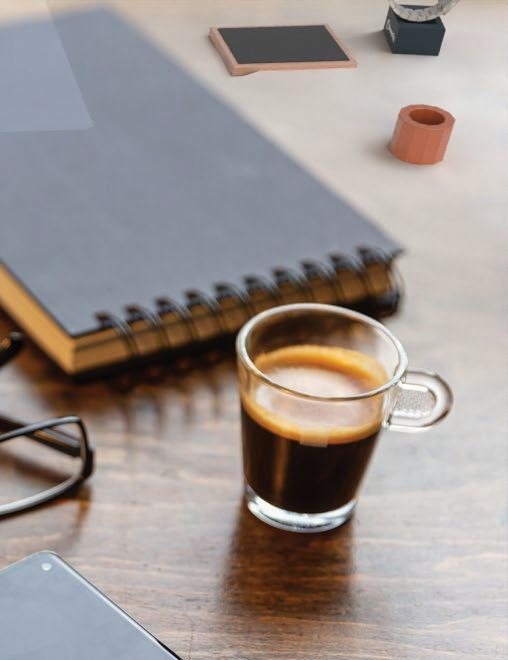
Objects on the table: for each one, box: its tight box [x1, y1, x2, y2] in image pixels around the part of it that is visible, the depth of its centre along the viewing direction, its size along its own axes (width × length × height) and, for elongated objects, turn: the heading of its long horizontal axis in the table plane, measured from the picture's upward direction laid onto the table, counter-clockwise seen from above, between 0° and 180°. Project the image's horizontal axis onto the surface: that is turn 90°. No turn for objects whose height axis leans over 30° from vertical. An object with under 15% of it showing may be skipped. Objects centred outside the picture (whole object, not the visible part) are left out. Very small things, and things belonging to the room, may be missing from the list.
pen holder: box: [388, 103, 456, 166], centre depth 110 cm, size 4×4×5 cm
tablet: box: [208, 23, 358, 76], centre depth 128 cm, size 12×9×1 cm
